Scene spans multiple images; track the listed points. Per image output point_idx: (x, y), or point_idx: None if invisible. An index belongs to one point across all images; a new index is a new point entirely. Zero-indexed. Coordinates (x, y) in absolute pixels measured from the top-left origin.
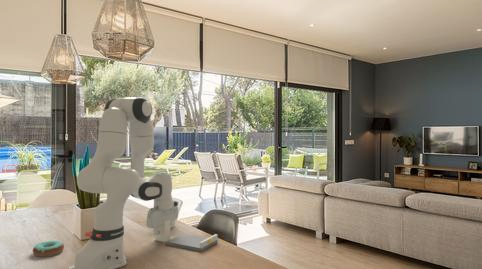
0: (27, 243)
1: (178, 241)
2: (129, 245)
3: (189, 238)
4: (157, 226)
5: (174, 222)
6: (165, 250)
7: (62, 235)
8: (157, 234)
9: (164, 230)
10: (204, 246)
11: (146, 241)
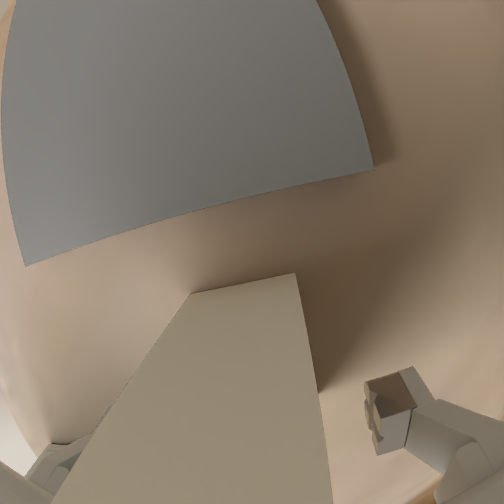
0: None
1: (238, 35)
2: (492, 392)
3: (73, 60)
4: (497, 466)
5: (42, 457)
6: (451, 52)
7: None
8: (414, 374)
9: (314, 384)
10: None
11: None
